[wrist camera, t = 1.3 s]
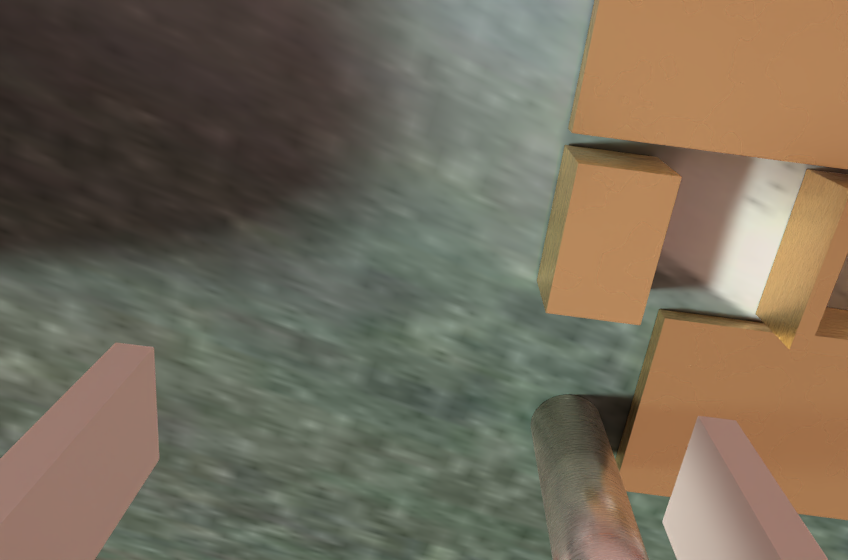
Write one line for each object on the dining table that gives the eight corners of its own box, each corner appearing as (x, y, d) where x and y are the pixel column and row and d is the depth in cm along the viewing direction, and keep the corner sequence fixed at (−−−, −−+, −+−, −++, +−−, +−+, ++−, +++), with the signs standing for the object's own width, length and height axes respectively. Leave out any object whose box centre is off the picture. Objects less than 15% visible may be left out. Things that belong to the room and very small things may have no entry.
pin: (524, 448, 35) (563, 709, 22) (537, 390, 34) (586, 633, 21) (592, 457, 35) (670, 723, 22) (608, 399, 34) (700, 647, 21)
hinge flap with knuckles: (536, 280, 31) (545, 312, 28) (624, -144, 24) (649, -166, 21) (874, 324, 31) (922, 362, 28) (1054, -87, 24) (1144, -100, 21)
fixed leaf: (610, 476, 35) (625, 524, 32) (703, 155, 29) (734, 175, 25) (907, 515, 36) (951, 567, 32) (1070, 204, 29) (1147, 229, 25)
